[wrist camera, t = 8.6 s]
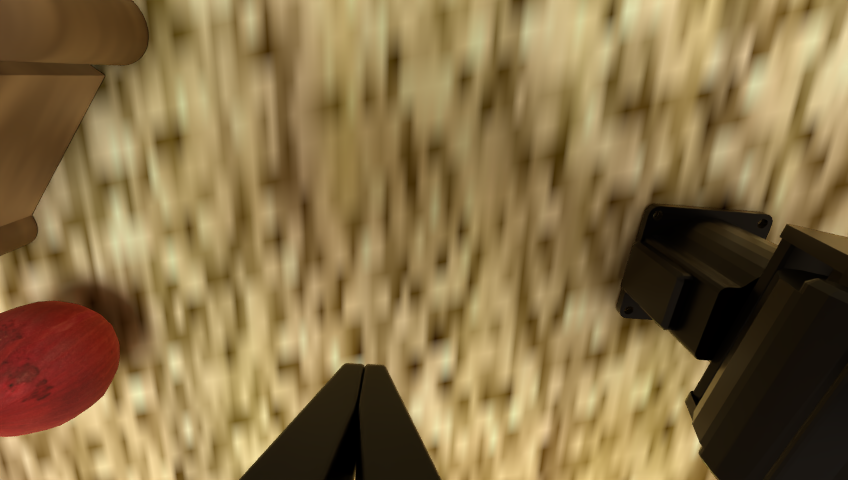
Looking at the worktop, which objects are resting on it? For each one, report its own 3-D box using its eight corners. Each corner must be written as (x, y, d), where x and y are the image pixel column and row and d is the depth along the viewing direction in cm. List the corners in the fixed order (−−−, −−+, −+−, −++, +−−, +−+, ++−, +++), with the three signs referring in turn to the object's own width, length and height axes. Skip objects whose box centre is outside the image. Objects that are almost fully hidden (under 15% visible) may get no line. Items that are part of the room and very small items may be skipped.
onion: (33, 267, 22) (-165, 367, 14) (147, 282, 22) (13, 387, 15) (51, 357, 24) (-114, 485, 16) (155, 370, 24) (40, 499, 17)
